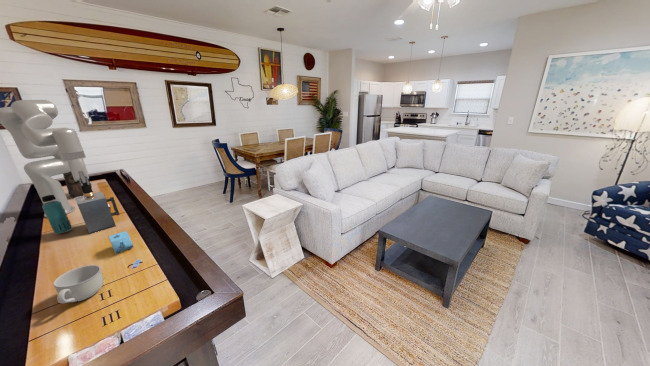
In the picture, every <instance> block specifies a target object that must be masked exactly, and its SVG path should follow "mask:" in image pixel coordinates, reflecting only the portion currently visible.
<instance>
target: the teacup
mask: <svg viewBox="0 0 650 366" xmlns="http://www.w3.org/2000/svg"><path fill="white" fill-rule="evenodd" d="M52 284H53V287H54V288H55V290H56V293H57V296H56V299H57V302H58V304H59V303H60V304H67V303H75V302H77V301H78V302H82V301H84V300H85V301H86V300H87V299H89V298H91V297H92V296H94V295H96V293H98V292H99V291H100V290H101V288H102V287H103V285H104V277H103V274H102V269H101V266H100V265H97V264H87V265H83V266H80V267H79V266H78V267H76V268H73V269H70V270H68V271H66V272H64V273H63V274H61V275H59V276H58V277H57V278H55V280H54V281H53V283H52ZM78 302H77V303H78Z"/></svg>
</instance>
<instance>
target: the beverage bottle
mask: <svg viewBox="0 0 650 366" xmlns="http://www.w3.org/2000/svg"><path fill="white" fill-rule="evenodd" d="M55 199H56V198H55V196H54V195H47V196H44V197H42V200H43V202H47V201H51V202H47V203H45V204H44V205H43V204H42V206H41V207H42V210H43V212H44V214H46V216H47V217H46V218H47V220H48V223H49V226H51V227H50V228H51V229H52V231H53V233H54V234H57V235H58V234H63V233H67V232H69V231H71V230H72V229H73V225H72V223H71V221H70V220H69V216H68V215H67V214H66V212H65V210H64V208H63V206H62V204H61V202H59V201H52V200H55ZM42 200H41V201H42Z"/></svg>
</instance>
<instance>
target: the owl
mask: <svg viewBox="0 0 650 366" xmlns="http://www.w3.org/2000/svg"><path fill="white" fill-rule="evenodd" d="M62 175H63V178H64V182H65V187H66V188H67V192H68V195H69V196H70V197H71V198H72V197H73V199H74V198H75V197H79V196H84V195H83V191H82V188H81V184H80V181H79V180H77V181H75V180H74V178H73V175H72V173H71V171H70V172H68V173H64V174H62ZM88 182H89V184H90V186H91V188H93V187H92V183H91V181H90V180H89V179H88Z"/></svg>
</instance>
